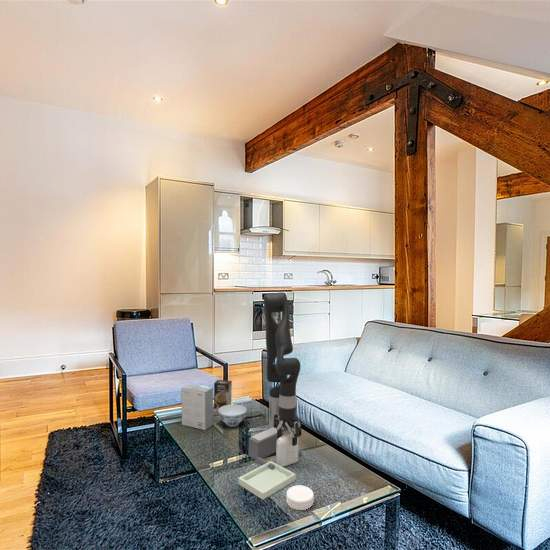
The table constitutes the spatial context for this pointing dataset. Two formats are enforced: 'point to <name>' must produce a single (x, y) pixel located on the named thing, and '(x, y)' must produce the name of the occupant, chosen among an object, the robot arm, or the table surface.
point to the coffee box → (222, 393)
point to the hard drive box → (197, 406)
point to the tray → (266, 480)
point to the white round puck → (300, 497)
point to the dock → (264, 446)
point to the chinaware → (232, 414)
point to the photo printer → (286, 451)
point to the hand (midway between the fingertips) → (286, 442)
